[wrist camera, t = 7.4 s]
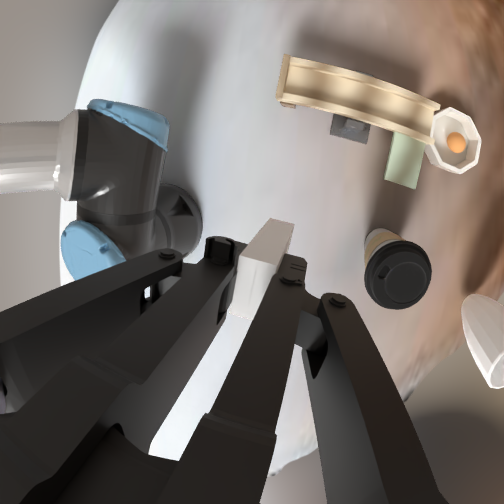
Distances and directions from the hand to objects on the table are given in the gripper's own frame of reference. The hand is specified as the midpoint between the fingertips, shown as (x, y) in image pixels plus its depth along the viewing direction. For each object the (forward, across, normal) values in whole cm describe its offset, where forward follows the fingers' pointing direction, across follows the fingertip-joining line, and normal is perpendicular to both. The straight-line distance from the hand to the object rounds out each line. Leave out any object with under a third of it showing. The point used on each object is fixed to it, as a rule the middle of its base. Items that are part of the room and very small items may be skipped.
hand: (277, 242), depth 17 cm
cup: (+31, +37, -11) cm, 49 cm away
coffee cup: (+31, +15, -6) cm, 35 cm away
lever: (+23, +5, +11) cm, 26 cm away
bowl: (+30, +22, +15) cm, 40 cm away
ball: (+28, +23, +15) cm, 39 cm away
